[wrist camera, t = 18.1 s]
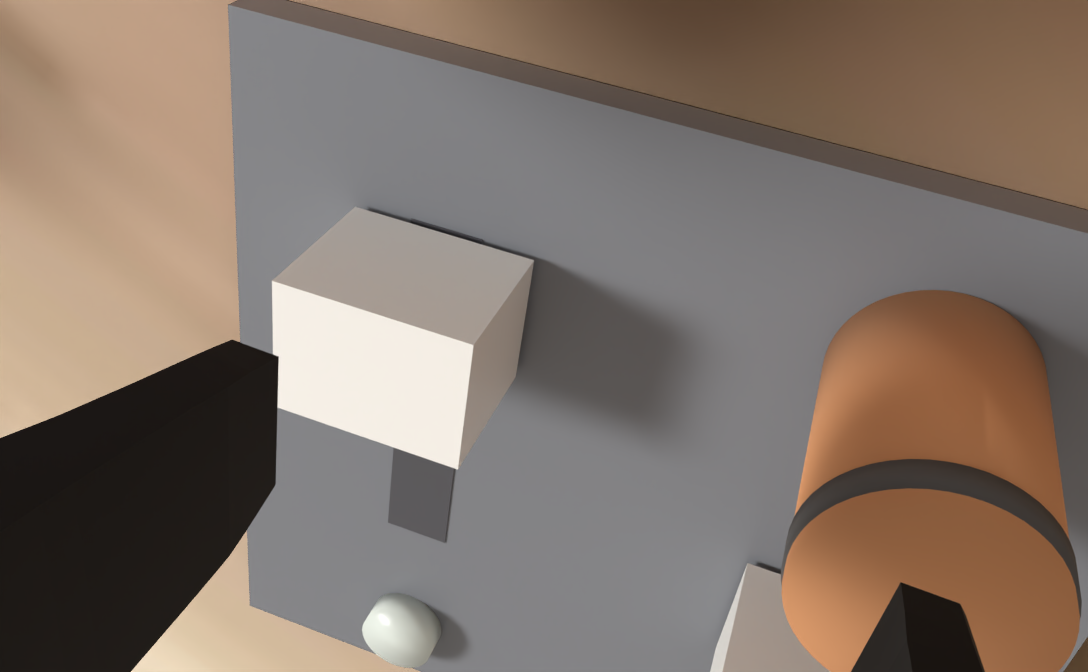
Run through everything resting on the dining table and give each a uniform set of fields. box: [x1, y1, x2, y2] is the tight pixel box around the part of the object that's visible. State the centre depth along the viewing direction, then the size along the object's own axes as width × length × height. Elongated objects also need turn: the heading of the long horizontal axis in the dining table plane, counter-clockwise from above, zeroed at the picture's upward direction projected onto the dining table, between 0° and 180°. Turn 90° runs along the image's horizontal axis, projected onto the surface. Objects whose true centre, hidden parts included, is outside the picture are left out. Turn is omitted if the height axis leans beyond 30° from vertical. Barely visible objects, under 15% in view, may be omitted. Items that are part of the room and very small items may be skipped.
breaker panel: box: [228, 0, 1088, 672], centre depth 24 cm, size 18×20×2 cm
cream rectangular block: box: [272, 207, 534, 469], centre depth 21 cm, size 3×4×3 cm
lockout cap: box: [781, 290, 1082, 672], centre depth 17 cm, size 4×4×6 cm
